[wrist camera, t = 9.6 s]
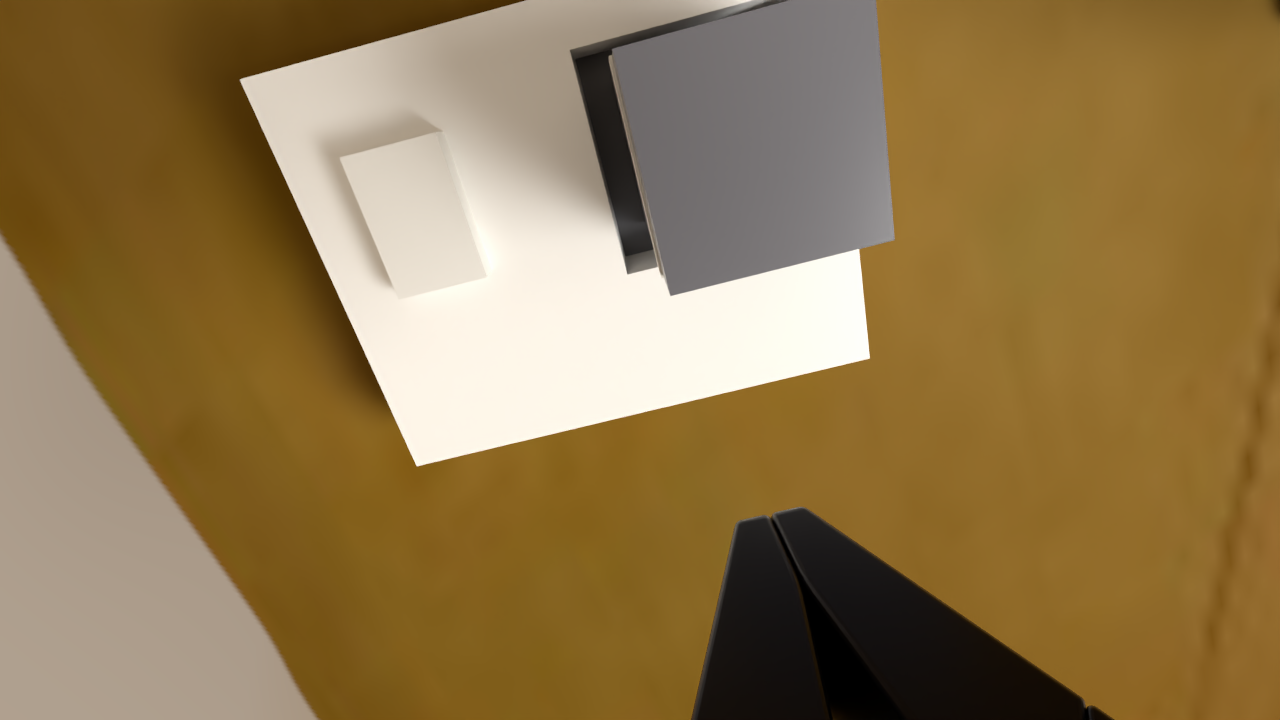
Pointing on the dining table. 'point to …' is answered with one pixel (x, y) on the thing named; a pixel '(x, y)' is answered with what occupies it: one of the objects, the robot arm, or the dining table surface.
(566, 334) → the socket plate
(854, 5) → the plug
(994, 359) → the dining table surface
